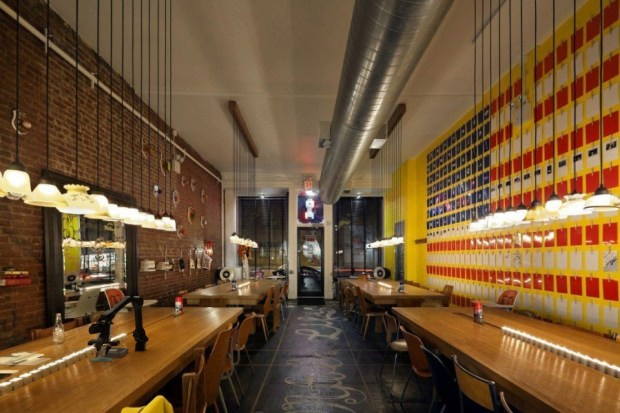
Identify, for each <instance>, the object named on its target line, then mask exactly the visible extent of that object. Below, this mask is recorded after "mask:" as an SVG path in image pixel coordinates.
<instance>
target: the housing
mask: <svg viewBox="0 0 620 413" xmlns="http://www.w3.org/2000/svg"><path fill="white" fill-rule="evenodd" d="M129 349H130V348H129V347H115V346H112V347H111V348H110V350H109V352H108V354H107V356H106V357H105V358H115V359H120V358H122V357H123V355H124V356H125V355H127V354H128V353H129ZM101 350H106V346H105V347H103V348H101ZM126 353H127V354H126ZM95 357H96V358H98V352H97V351H96V352H95Z"/></svg>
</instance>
